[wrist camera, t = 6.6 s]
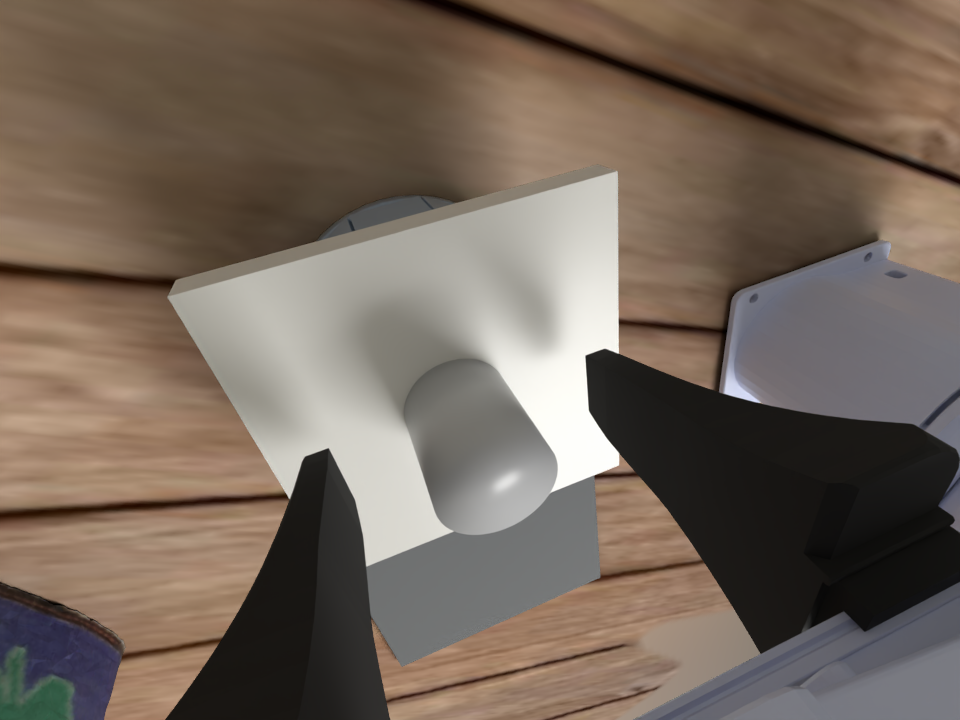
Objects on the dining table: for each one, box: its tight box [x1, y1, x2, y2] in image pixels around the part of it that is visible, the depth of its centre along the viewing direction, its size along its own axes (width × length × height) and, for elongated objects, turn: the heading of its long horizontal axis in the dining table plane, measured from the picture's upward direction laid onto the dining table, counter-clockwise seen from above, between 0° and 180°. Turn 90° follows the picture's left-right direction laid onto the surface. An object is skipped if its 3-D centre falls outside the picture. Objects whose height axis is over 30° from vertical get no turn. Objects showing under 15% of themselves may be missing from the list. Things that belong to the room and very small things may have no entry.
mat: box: [366, 475, 600, 666], centre depth 27 cm, size 14×15×1 cm
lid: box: [168, 164, 619, 567], centre depth 13 cm, size 11×11×4 cm
